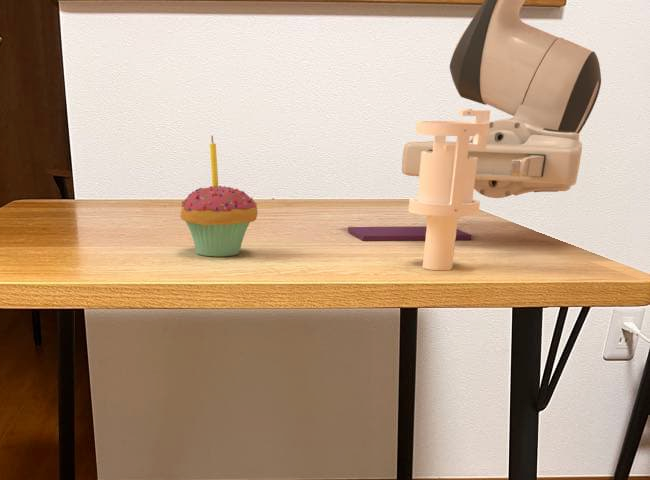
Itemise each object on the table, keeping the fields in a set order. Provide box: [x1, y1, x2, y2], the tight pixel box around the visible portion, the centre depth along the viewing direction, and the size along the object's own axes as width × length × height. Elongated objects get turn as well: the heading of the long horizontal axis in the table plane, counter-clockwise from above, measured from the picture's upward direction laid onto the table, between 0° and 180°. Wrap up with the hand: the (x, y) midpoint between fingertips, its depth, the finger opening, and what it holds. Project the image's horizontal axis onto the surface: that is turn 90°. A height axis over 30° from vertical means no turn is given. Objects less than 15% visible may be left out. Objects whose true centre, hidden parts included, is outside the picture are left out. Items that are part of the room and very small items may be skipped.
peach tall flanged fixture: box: [408, 108, 491, 271], centre depth 89 cm, size 7×7×15 cm
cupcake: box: [180, 135, 258, 258], centre depth 96 cm, size 9×8×12 cm
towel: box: [347, 225, 472, 242], centre depth 113 cm, size 14×8×1 cm, turn 98°
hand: (474, 165), depth 96 cm, fingers open, 8 cm apart
